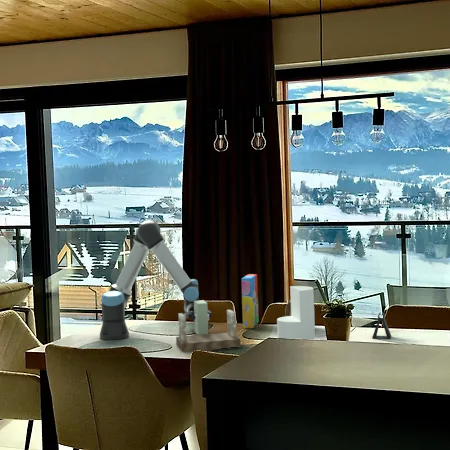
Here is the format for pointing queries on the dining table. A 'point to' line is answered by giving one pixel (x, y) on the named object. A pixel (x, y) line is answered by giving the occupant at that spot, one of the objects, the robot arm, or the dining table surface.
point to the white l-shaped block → (299, 315)
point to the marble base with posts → (207, 336)
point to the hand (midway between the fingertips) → (202, 318)
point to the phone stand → (388, 334)
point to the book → (201, 317)
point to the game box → (250, 301)
